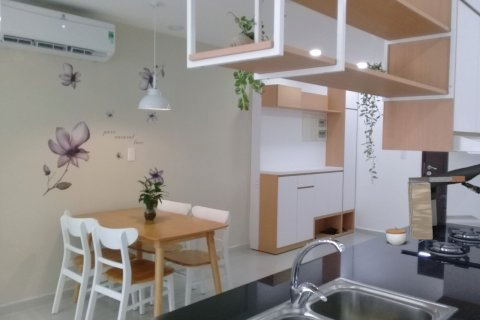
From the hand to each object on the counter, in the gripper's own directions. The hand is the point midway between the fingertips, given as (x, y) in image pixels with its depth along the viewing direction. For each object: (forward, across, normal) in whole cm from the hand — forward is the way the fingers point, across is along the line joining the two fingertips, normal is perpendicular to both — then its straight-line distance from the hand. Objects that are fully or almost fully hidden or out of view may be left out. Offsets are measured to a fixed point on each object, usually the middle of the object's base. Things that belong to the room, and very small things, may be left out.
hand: (463, 183), depth 244 cm
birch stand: (+6, 0, +39) cm, 39 cm away
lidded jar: (+20, +20, +47) cm, 55 cm away
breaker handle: (+8, 0, +3) cm, 9 cm away
